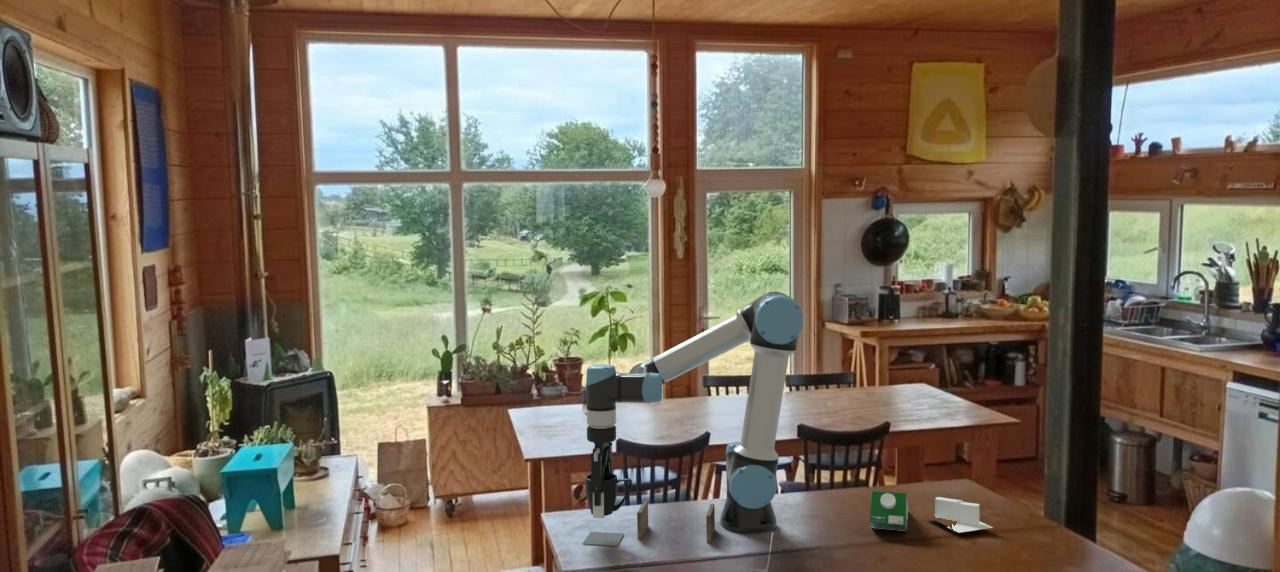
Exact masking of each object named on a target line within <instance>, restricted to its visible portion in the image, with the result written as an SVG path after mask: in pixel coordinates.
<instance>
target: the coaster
mask: <svg viewBox="0 0 1280 572" xmlns="http://www.w3.org/2000/svg"><path fill="white" fill-rule="evenodd" d="M624 536H625V533H624V532H623V533H622V532H604V531H603V532H602V531H590V532H589V533H588V535H587V536H586V538H585V539H584V540H583V542H582V544H587V545H586V546H595V545H596V547H608V546H609V547H610V548H611V547H612V548H617V547H618V546H619V544H620V543H621V541H622V539H623V538H624ZM588 544H589V545H588ZM609 547H608V548H609Z"/></svg>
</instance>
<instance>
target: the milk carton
mask: <svg viewBox="0 0 1280 572" xmlns="http://www.w3.org/2000/svg"><path fill="white" fill-rule="evenodd" d="M870 492H871V493H870V508H869V509H870V510H869V524H870V527H872V528H884V529H895V530H905V531H906V529H907V530H908V524H907V520H908V521H909V516H908V511H909V510H910V509H909V503H908V497H907V493H906V492H895V491H894V492H893V491H881V490H870ZM909 512H910V511H909ZM872 528H871V529H872Z"/></svg>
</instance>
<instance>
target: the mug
mask: <svg viewBox="0 0 1280 572" xmlns="http://www.w3.org/2000/svg"><path fill="white" fill-rule="evenodd" d="M584 478H585V484H584V485H585V495H586V501H587V503H588V507H589V509H590V514H591V515H592V516H593V493H589V490H590V489H591V473H590V474H587V475H586V476H585V477H584ZM621 482H628V484H629V485H628V489H627V490H626V493H625V495H624V496H623V498H622V499H621V501H620V502H619V503H618V504H616V500H617V494H618V484H619V483H621ZM632 486H633V480H632V479H631V478H619V479H618V475H617V474H615V473H613V474H612V473H604V479H603V492H604V517H605V516H606V517H607V516H610V515H612V514H613V513H614V512H617V511H618V510H619V509H620V508H621V506H622V505H624V502H625V501H626V499H627V497H628V496H629V494H630V493H631V491H632Z"/></svg>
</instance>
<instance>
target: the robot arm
mask: <svg viewBox="0 0 1280 572" xmlns="http://www.w3.org/2000/svg"><path fill="white" fill-rule="evenodd" d="M803 327H804V315H803V310H802V308H801V306H800V305H799V303H798V302H797V301H796V300H794V299H793V298H792V297H790V296H788V295H787V294H786V293H783V292H780V291H769V292H766V293H763V294H762V295H760V296H758V297H757V298H756V299H754V300H753V301H751V302H750V303H748V304H746V305H745V306H743V307H741V308H739V309H737V311H736V314H735V315H734V316H731V317H730V318H727V319H726V320H724V321H722V322H719V323H718V324H716V325H714V326H712V327H711V328H708V329H706V330H705V331H702V332H701V333H699V334H697V335H695V336H693V337H691V338H689V339H686V340H685V341H683V342H681V343H680V344H677V345H676V346H674V347H672V348H669V349H668V350H665V351H664V352H662V353H660V354H658V355H656V356H654V357H652V358H650V359H648V360H647V361H645V362H640V363H637V364H635V366H633V367H632V368H631V369H630V370H629V372H624V373H623V372H617V369H616V366H614V365H613V364H606V363H601V364H599V363H598V364H592V365H590V366H588V368H586V378H585V379H586V381H585V391H586V393H585V394H586V395H585V396H586V397H585V398H586V399H585V400H586V411H585V412H584V415H585V416H586V423H587V427H586V439H587V440H586V441H588V442H590V443H593V444H594V445H593V446H594V447H593V448H592V452H591V453H590V460H591V461H590V474H591V489H590V490H589V493H593V515H592V518H593V519H604V518H605V516H604V492H603V479H604V473H612V474H614V471H613V470H614V467H613V465H614V464H613V442H614V441H616V439H617V426H616V425H615V424H616V423H617V407H616V406H617V404H616V403H634V404H635V403H641V404H642V403H643V404H645V403H646V404H651V403H660V402H661V401H662V400H663V385H664V384H666V383H668V382H670V381H672V380H673V379H675V378H677V377H680V376H682V375H684V374H686V373H688V372H689V371H692V370H693V369H695V368H697V367H700V366H701V365H703V364H706V363H707V362H709V361H711V360H713V359H715V358H718V357H719V356H721V355H723V354H725V353H727V352H729V351H731V350H733V349H735V348H737V347H739V346H741V345H743V344H745V343H747V342H750V343H749V344H750V346H751V348H752V349H753V351H754V353H753V359H752V367H751V374H750V380H749V387H748V392H747V400H746V404H745V405H746V406H745V413H744V419H743V425H742V433H741V436H740V437H741V438H740V441H736V442H735V441H734V442H730V443H728V444H726V449H725V450H726V451H725V454H724V455H725V456H726V457H725V458H726V460H725V461H726V465H725V466H726V470H725V471H726V474H725V475H726V476H725V477H726V499H725V502H724V505H723V508H722V512H721V514H720V523H719V524H720V526H721V527H722V528H723V529H725V530H727V531H729V532H733V533H737V534H739V533H740V534H762V533H767V532H770V531H771V532H774V531H775V530H776V529H777V516H776V514H775V511H774V507H773V505H772V500H773V499H774V498H775V495H776V493H777V488H778V485H777V479H776V476H777V471H778V465H779V459H780V457H779V453H777V452H776V449H775V446H776V445H775V444H776V438H777V432H778V426H779V420H780V413H781V407H782V401H783V397H784V396H783V395H784V390H785V384H786V383H785V382H786V377H787V370H788V365H789V359H790V356H792V355H793V354H794V353H795V352H797V345H798V341H799V335H800V334H801V332H802V329H803Z"/></svg>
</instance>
